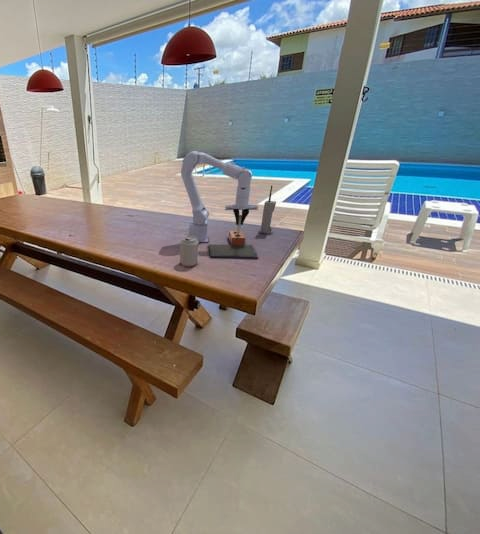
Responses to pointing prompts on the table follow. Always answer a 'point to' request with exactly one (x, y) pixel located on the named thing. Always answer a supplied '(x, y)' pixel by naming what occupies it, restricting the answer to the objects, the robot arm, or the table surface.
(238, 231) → the stylus
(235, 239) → the pen stand
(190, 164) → the robot arm
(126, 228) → the table surface
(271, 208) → the vintage mobile phone
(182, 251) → the can
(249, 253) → the tablet
